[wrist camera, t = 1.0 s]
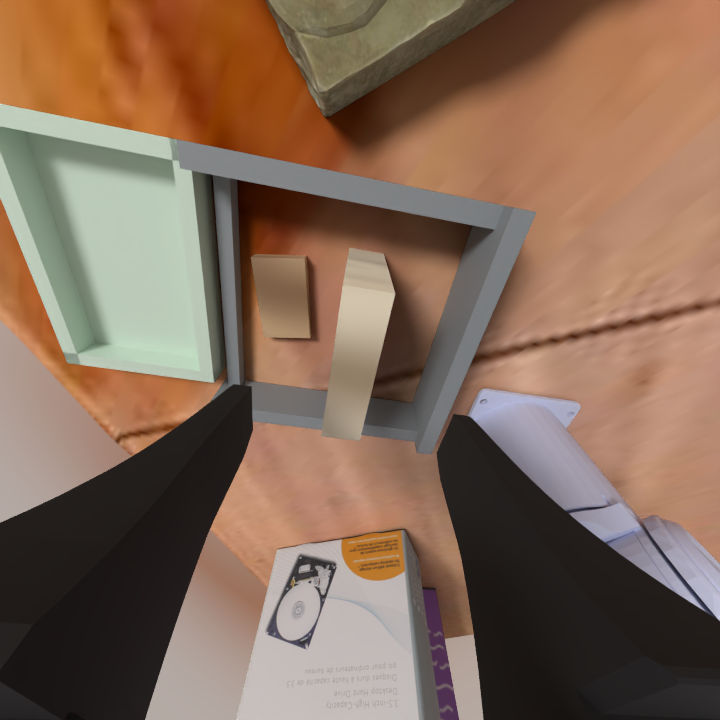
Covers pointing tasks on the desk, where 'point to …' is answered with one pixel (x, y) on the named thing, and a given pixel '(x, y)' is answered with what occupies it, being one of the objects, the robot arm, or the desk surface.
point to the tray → (115, 243)
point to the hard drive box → (343, 635)
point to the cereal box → (439, 657)
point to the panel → (357, 343)
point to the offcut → (283, 295)
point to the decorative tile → (369, 39)
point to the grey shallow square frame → (460, 316)
